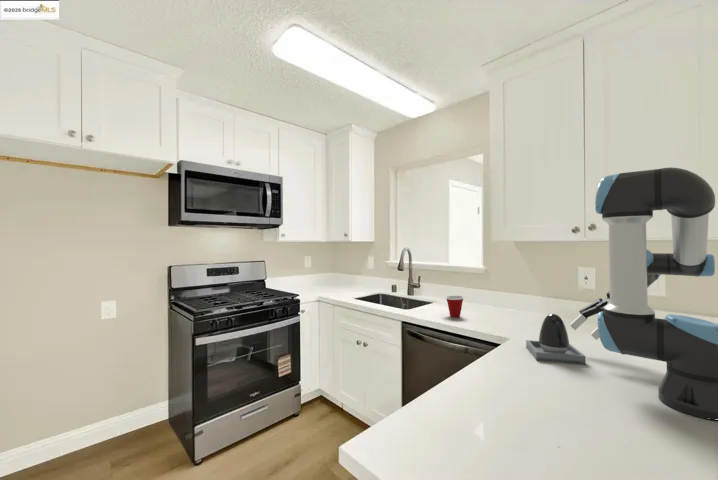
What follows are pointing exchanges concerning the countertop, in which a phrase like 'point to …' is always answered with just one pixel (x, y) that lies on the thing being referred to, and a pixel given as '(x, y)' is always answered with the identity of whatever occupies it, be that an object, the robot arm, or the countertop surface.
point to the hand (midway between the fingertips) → (582, 332)
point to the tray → (555, 354)
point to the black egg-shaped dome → (553, 335)
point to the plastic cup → (454, 305)
